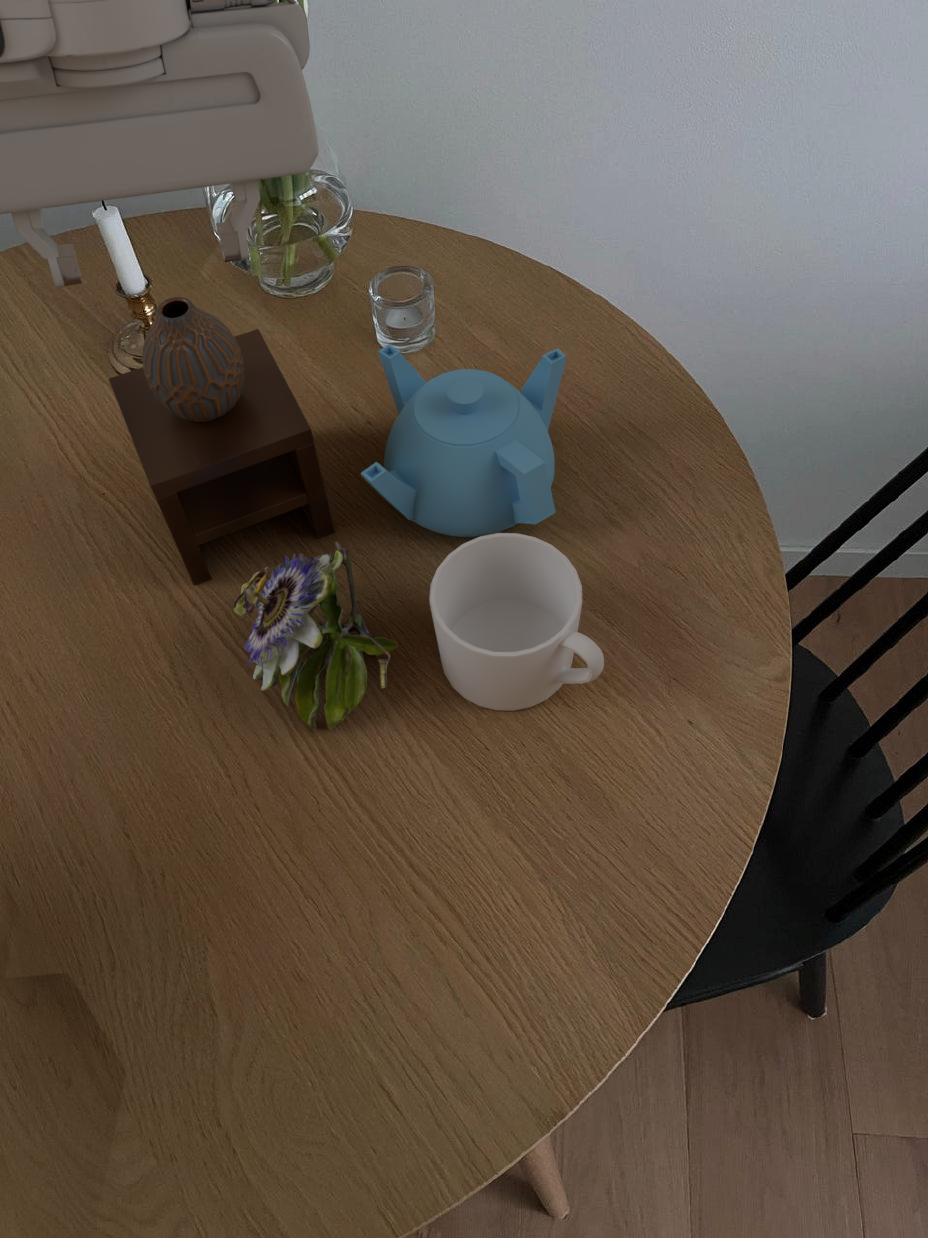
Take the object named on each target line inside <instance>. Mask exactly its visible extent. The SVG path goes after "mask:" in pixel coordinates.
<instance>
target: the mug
mask: <svg viewBox="0 0 928 1238" xmlns="http://www.w3.org/2000/svg"><path fill="white" fill-rule="evenodd" d="M429 586H430V587H429V597H428V598H429V599H428V602H429V606H430V611H431V612H430V613H431V616H432V622H433V626H434V632H435V636H436V642H437V647H438V651H439V657H440V662H441V666H442V670H443V674H444V676H445V678H446V679H447V680H448V682H449V684H450V686H451V687H452V688H453V689H454V691H455V692H457V693H458V694H459V695H460V696H461V697H462V698H464V699H465V700H467V701H469V702H471V703H473V704H475V705H476V706H478V707H481V708H486V709H490V710H493V711H501V712H502V711H506V712H507V711H511V712H515V711H519V710H524V709H529V708H532V707H534V706H537V705H538V704H541V703H543V702H545V701H547V700H549V698H550V697H552V696H553V695H554V694H556V693H557V691H559V690H560V689H561V687H562V686H563V684H564V685H565V684H568V685H569V684H573V685H574V684H586V683H592V682H594V681H595V680H596V679H597V678H598V677H599V676H600V675H601V673H602V671H603V670H604V667H605V659H604V658H605V657H604V653H603V651H602V649H601V648H600V647H599V645H598V644H597V642H595V641H594V640H592V639H591V638H589V636H587V635H585V634H583V633H581V632H579V626H580V620H581V614H582V609H583V585H582V582H581V579H580V575H579V574H578V570H577V569H576V568H575V566H574V565H573V563H572V562H571V561H570V560H569V558H568V556H566V555H565V554H564V553H563V552H561V551H560V550H559V549H557V548H556V547H555V546H554V545H553V544H550V543H548V542H546V541H544V540H542V539H540V538H537V537H535V536H531V535H526V534H522V533H518V532H497V533H494V534H491V535H486V536H480V537H475V538H473V539H471V540H469V541H466V542H463V543H462V544H461V545H459V546H458V547H456V549H454V550H453V551H451V552H450V553H448V555H446V557H445V558H444V559H443V561H442V562H440V565H439V566H438V567H437V569H436V570H435V572H434V575H433V578H432V580H431V582H430V585H429ZM575 654H577V656H579V657H580V658H581V659H582V660H583V661H584V662H585V663H586V666H587V667H572V665H573V660H574V655H575Z"/></svg>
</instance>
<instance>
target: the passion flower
mask: <svg viewBox="0 0 928 1238" xmlns="http://www.w3.org/2000/svg"><path fill="white" fill-rule="evenodd" d="M334 545H335V552H334V555H332V553H331V552H323V553H320V554H319V555H317V556H316V557H314V559H313V557H309V558H307V557H306V556H305V555H304V553H299V554H298V557H297V553H293V555H292V559H289V557H288V556H285V557H284V559H285V560H284V562H283V563H280V564H278V565H277V566H276V567H275V568H273V570H272V571H271V575H270V568H269V566H265V567H263V568H262V569H261V570H259V571H256V572H255V573H253V574H252V576H251V578H250V579H249V581H247V582H245V583H243V584H242V585H241V588H240V589H241V590H240V595H239V596H238V597H237V598H236V599H235V601H234V603H233V611H234V613H235V614H236V615H238V616H241V617H243V616H246V615H248V614H252V613H253V612H254V610H255V607H256V609H257V610H256V611H257V617H256V618H255V622H254V623H253V624H252V629H251V630H250V632H249V637H248V638H247V641H246V642H245V643H244V645H243V649H244V650H245V651H246V652H247V653H249V658H248V660H246V662H245V664H244V666H245V667H246V666H247V665H248V664H249V665H250V666H251V665H255V669H254V672H253V675H252V679H253V680H255V681H262V685H261V687H260V691H261V692H266V691H268V690H270V689H272V688H274V687H276V685H278V684H279V685H280V698H281V699H282V701H283V704H284V705H286V706H289V705H290V703H289V702H290V698H291V697H290V696H291V695H290V694H291V692H292V689H293V687H294V683H295V681H296V687H295V694H294V698H295V699H294V700H295V704H296V712H297V714H298V716H299V718H300V719H301V721H302V722H304V723H306V724H307V726H309V727H310V728H311V729H313V730H316V729H317V727H318V725H317V719H318V717H319V713H320V712H321V711H320V710H321V706H322V703H321V694H322V678H323V675H324V673H325V670H326V673H325V681H324V687H325V689H324V691H325V693H324V695H325V703H324V705H323V711H324V716H325V721H326V728H327V729H328V731H332V730H333V729H334V728H335V727H337V726H339V724H341V723H343V722H344V721H345V719H346V718H347V716H349V714H351V713H352V712H353V711H354V710H355V709H356V708H357V707H358V705H359V704H360V703H361V701H362V700H363V698H364V696H365V694H366V690H367V685H368V679H369V678H368V677H369V676H368V670H367V665H366V662H365V658H364V655H363V652H364V653H365V654H367V655H369V656H374V657H375V658H377V657H379V656H381V655H387V659H386V658H385V659H383V658H382V659H381V658H379V659H378V660H377V662H378V664H379V673H380V674H379V681H380V689H386V688H387V685H388V680H387V678H388V677H387V675H388V669H387V668H388V665H389V662H390V659H391V654H390V653H391V652H393V651H394V650H395V649H397V648H398V646H399V645H398V643H397V642H396V641H394V640H392V639H389V638H387V637H384V636H381V635H374V634H371V633H370V631H369V630H368V628H367V626H366V623H365V621H364V619H363V616H362V613H361V611H360V610H359V607H358V602H357V601H358V600H357V595H356V589H355V584H354V577H353V570H352V560H351V556H350V551H349V549H347V548H345V547H343V545H341V544H340V542H338V541H334ZM341 565H343V566H344V567H345V570H346V574H347V582H348V589H349V595H350V602H351V611H350V614H349V617H348V619H347V622H346V623H342V618H343V611H344V609H343V608H344V607H343V605H341V604H340V602H339V591H340V585H339V583H338V578H337V576H336V575H335V571H337V570H338V569H339V568H340V566H341ZM269 575H270V576H271V577H270V578H269V579H268V580H267V582H266V579H267V578H268V576H269ZM265 582H266V583H265ZM263 586H264V587H263ZM262 589H263V591H262ZM261 591H262V593H261V594H260V592H261ZM318 606H319V608H320V610H321V611H322V614H323V615H324V618H325V621H324V622H318V621H317V620H316V619H315V617H314V616H313V613H314V612H315V610H316V609H317V607H318ZM352 632H356V634H350V633H352ZM324 636H327V638H326V639H325V640H324V641H323V639H324ZM311 648H312V649H317V648H319V649H318V650H317V651H314V652H313V653H312V654H311V655H310V656H309V657H308V658H307V659H306V660H305V662H303V660H304V658H305V656H306V654H307V653H308V652H309V650H310V649H311ZM302 662H303V663H302ZM300 666H301V667H300ZM299 667H300V668H299Z"/></svg>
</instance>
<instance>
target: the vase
mask: <svg viewBox="0 0 928 1238" xmlns="http://www.w3.org/2000/svg"><path fill="white" fill-rule="evenodd" d="M234 337H235V336H234V334H233V333H232V332H231V330H230V329H229V327H227V325H226V324H224V322H222V320H221V319H219V318H218V317H216V316H215V315H213V314H211V313H210V312H207V311H206V310H204V309H202V308H199V307H197V306H196V304H194V303H193V302H192V300H190V299H188V298H186V297H183V296H172V297H168V298H166V299H164V300H163V301H162V302H161V303H160V304H158V307H157V309H156V315H155V319H154V320H153V323H152V324H151V325H150V328H149V329H148V331H147V333H146V334H145V338H144V340H143V345H142V357H141V358H142V367H143V369H144V374H145V377H146V380H147V382H148V385H149V387H150V389H151V391H152V393H153V395H154V396H155V397H156V399H157V400H158V401H159V403H160V404H161V405H162V406H163V407H164V408H165V409H166V410H168V411H169V412H170V413H172V414H173V415H175V416H177V417H179V418H182V419H184V420H188V421H194V422H207V421H212V420H215V419H217V418H219V417H221V416H223V415H224V414H226V413H227V412H228V411H229V410H231V409H232V408H233V407H234V405H235V404H236V403H237V401H238V400H239V398H240V396H241V393H242V390H243V387H244V380H245V367H244V361H243V357H242V353H241V350H240V347H239V345H238V343H237V341H236V339H235V338H234Z"/></svg>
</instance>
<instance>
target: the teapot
mask: <svg viewBox="0 0 928 1238" xmlns="http://www.w3.org/2000/svg"><path fill="white" fill-rule="evenodd" d="M377 353H378V357H379V360H380V363H381V366H382V369H383V373H384V375H385V378H386V381H387V383H388V387H389V389H390V393H391V395H392V399H393V402H394V404H395V407H396V411H397V414H398V415H397V417H396V418H395V420H394V422H393V424H392V426H391V428H390V432H389V434H388V438H387V441H386V445H385V449H384V450H385V451H384V457H383V466H382V465H381V464H380V463H378V462H377V461H375V462H374V463H373V464H371V465H370V466H369V467H367V468H365V469H364V470H363V471H362V472H360V476H362V478H363V479H364V480H365V481H366V482H367V483H368V484H369V485H370V486H371V487H372V488H373V489H374V490H376V492H377V494H379V495H380V496H381V497H382V498H383V500H385V501H386V502H388V504H389V505H391V506H392V507H393V508H394V509H395V510H397V511H398V512H399V513H400V514H402V516H404V517H405V518H406V519H407V520H409V521H412V522H414V523H415V524H417V525H419V526H420V527H422V528H424V529H426V530H429V531H432V532H435V533H438V534H440V535H444V536H449V537H457V538H478V537H481V536H486V535H491V534H496V533H502V532H503V531H506V530H508V529H510V528H512V527H515V526H517V525H518V524H525V525H526V524H528V525H537V524H539V523H541V522H542V521H544V520H547V519H548V518H550V516H553V515H554V514H556V512H557V511H556V507H555V503H554V499H553V498H554V497H553V493H552V489H551V488H552V486H553V482H554V479H555V473H556V471H555V469H556V468H555V467H556V465H555V463H556V461H555V453H554V447H553V443H552V439H551V436H550V433H549V429H550V425H551V421H552V418H553V413H554V409H555V406H556V401H557V398H558V393H559V390H560V385H561V382H562V377H563V375H564V370H565V366H566V361H567V357H568V356H567V355H566V354H565V353H564V352H563V351H562V350H561V349H559V348H558V347H556V348H554V349H552V350H550V351H548V352H546V353H544V354H543V355H541V359H540V361H539V362H538V363H537V365H536V367H535V368H534V369H533V371H532V373H531V374H530V375H529V377H528V378H527V380H526V381H525V383H524V384H523V386H522V388H521V389H520V390H518V389H517V388H516V387H515V386H514V385H513V384H512V383H510V382H509V381H507V380H506V379H504V378H502V376H499V375H498V374H495V373H492V372H490V371H487V370H482V369H473V368H462V369H455V370H451V371H447V372H444V373H441V374H439V375H437V376H435V377H432V378H431V379H430V380H428V381H426V380H425V379H424V378H423V377H422V376H421V374H420V373H419V372H418V371H417V370H416V369H415V368H414V366H413V365H412V364H411V363H410V362H409V361H408V360H407V358H405V356H404V355H403V354H402V351H401V350H400V349H398V348H397V347H395V346H393V345H392V344H390V343H388V344H386V345H385V346H384V347H382V348H380V349H379V350H377Z"/></svg>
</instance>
